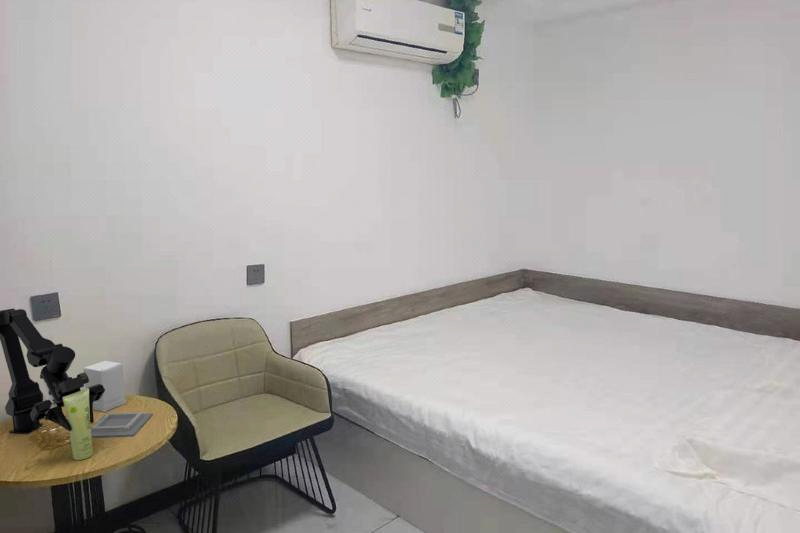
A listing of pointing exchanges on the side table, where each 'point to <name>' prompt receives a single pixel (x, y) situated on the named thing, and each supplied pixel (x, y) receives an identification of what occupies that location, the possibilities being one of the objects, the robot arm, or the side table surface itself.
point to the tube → (79, 423)
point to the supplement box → (107, 384)
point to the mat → (122, 423)
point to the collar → (103, 429)
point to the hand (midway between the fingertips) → (81, 426)
